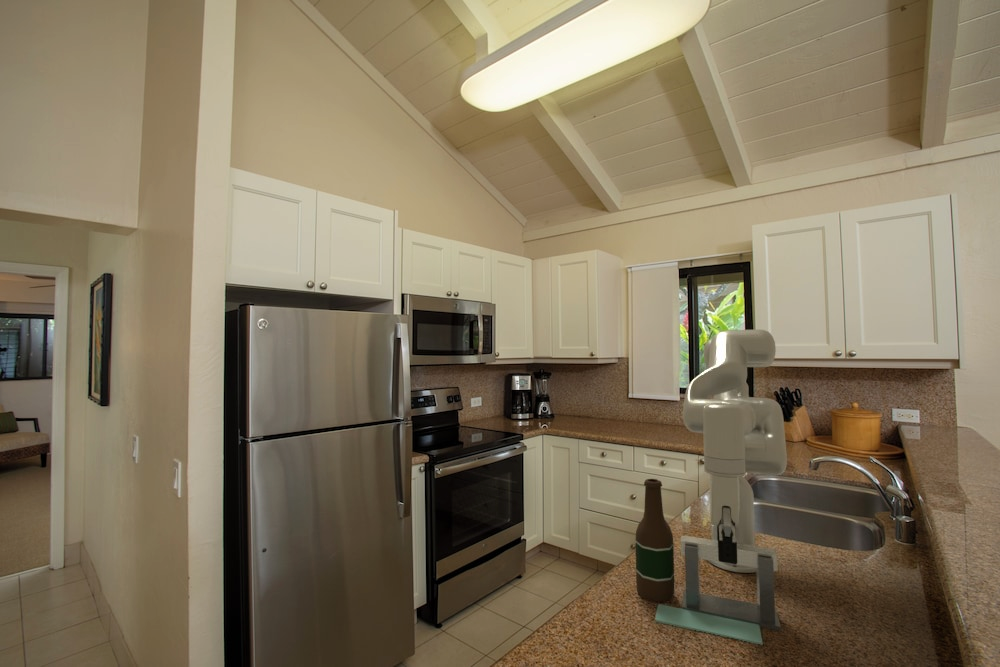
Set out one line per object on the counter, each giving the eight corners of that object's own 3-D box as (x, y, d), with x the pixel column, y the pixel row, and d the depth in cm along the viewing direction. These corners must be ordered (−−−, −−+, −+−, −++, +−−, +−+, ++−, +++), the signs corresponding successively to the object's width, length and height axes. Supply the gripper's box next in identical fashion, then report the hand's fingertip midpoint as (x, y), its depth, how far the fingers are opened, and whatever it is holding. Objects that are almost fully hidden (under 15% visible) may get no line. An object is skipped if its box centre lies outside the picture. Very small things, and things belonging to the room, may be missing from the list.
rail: (681, 549, 96) (681, 535, 97) (775, 564, 90) (774, 548, 90) (681, 555, 94) (680, 540, 94) (777, 571, 87) (777, 555, 87)
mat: (658, 605, 93) (658, 603, 93) (759, 626, 86) (759, 624, 86) (655, 621, 88) (655, 619, 88) (762, 645, 81) (762, 643, 81)
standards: (683, 593, 98) (682, 534, 98) (775, 611, 91) (773, 548, 91) (681, 610, 92) (680, 547, 92) (780, 631, 85) (778, 562, 85)
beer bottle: (677, 605, 93) (675, 486, 94) (638, 601, 95) (635, 484, 96) (671, 586, 101) (669, 476, 102) (635, 583, 103) (632, 474, 104)
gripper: (704, 455, 102) (706, 534, 101) (703, 472, 86) (706, 566, 85) (742, 458, 99) (744, 540, 98) (749, 477, 83) (752, 574, 82)
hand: (726, 552), depth 91 cm, fingers open, 9 cm apart
